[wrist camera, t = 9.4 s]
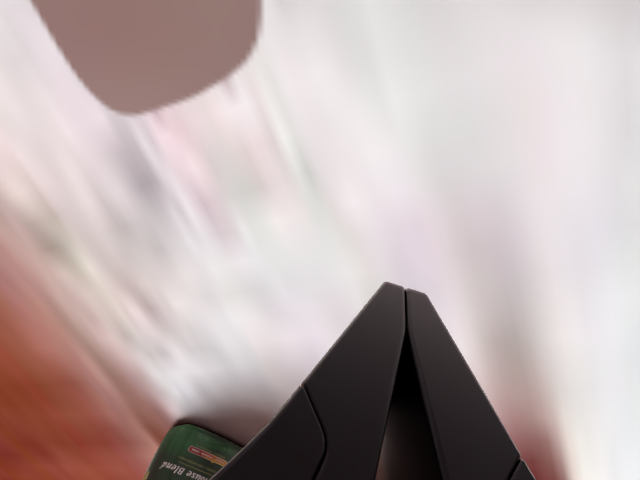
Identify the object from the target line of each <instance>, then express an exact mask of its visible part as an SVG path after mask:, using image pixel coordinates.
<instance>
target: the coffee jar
mask: <svg viewBox="0 0 640 480" xmlns="http://www.w3.org/2000/svg"><path fill="white" fill-rule="evenodd" d="M242 449H243V448H241V447H239V446H238V445H236V444H234V443H232V442H230V441H228V440H226V439H224V438H222V437H220V436H218V435H216V434H214V433H211V432H209V431H207V430H204V429H202V428H199V427H197V426H194V425H190V424H185V425H179V426H175V427H173V428H172V429H170V430H169V431H168V433H167V434H166V436H165V437H164V439H163V441H162V443H161V444H160V446H159V448H158V450H157V452H156V453H155V455H154V457H153V459H152V461H151V463H150V465H149V467H148V469H147V471H146V473H145V475H144V477H143V480H209V479H210V478H212V477H213V476H214V475H215V474H216V473H217V472H218V471H219V470H220V469H221V468H222V467H223V466H224V465H226V464H227V463H228V462H229V461H230V460H231V459H232V458H233V457H234V456H235V455H236V454H237V453H239V452H240V451H241V450H242Z"/></svg>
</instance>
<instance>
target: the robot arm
mask: <svg viewBox="0 0 640 480" xmlns="http://www.w3.org/2000/svg"><path fill="white" fill-rule="evenodd" d="M520 458H521V454H520V453H519V451H518V449H517V447H516V446H515V444H514V442H513V441H512V439H511V437H510V436H509V434H508V432H507V430H506V429H505V427H504V425H503V424H502V422H501V420H500V419H499V417H498V415H497V413H496V412H495V410H494V408H493V407H492V405H491V403H490V402H489V400H488V398H487V396H486V395H485V393H484V391H483V390H482V388H481V386H480V385H479V383H478V381H477V380H476V378H475V376H474V374H473V373H472V371H471V369H470V368H469V366H468V364H467V363H466V361H465V359H464V357H463V356H462V354H461V352H460V351H459V349H458V347H457V346H456V344H455V342H454V340H453V339H452V337H451V335H450V334H449V332H448V330H447V329H446V327H445V325H444V323H443V322H442V320H441V318H440V317H439V315H438V313H437V312H436V310H435V308H434V307H433V305H432V303H431V301H430V300H429V298H428V296H427V295H426V294H425V293H422V292H419V291H416V290H412V289H409V288H407V289H405V290H404V288H403V287H402V286H399V285H396V284H393V283H390V282H384V283H383V284H382V285H381V287H380V288H379V289H378V290H377V291H376V293H375V294H374V295H373V296H372V298H371V299H370V300H369V301H368V303H367V304H366V305H365V306H364V307H363V309H362V310H361V311H360V312H359V314H358V315H357V316H356V317H355V319H354V320H353V321H352V322H351V323H350V325H349V326H348V327H347V328H346V330H345V331H344V332H343V333H342V335H341V336H340V337H339V338H338V340H337V341H336V342H335V343H334V344H333V346H332V347H331V348H330V349H329V351H328V352H327V353H326V354H325V356H324V357H323V358H322V359H321V360H320V362H319V363H318V364H317V365H316V367H315V368H314V369H313V370H312V372H311V373H310V374H309V375H308V376H307V378H306V379H305V380H304V381H303V383H302V385H301V386H299V387H298V388H297V390H296V391H295V392H294V393H293V394H292V396H291V397H290V398H289V399H288V401H287V402H286V403H285V404H284V405H283V406H282V408H281V409H280V410H279V411H278V412H277V413H276V414H275V416H274V417H273V418H272V419H271V420H270V421H269V422H268V423H267V425H266V426H265V427H264V428H263V429H262V430H261V431H260V432H259V433H258V434H257V435H256V436H255V437H254V438H253V439H252V440H251V441H250V442H249V443H248V444H247V445H246V446H245V447H244V448H243V449H242V450H241V451H240V452H239V453H237V454H236V455H235V456H234V457H233V458H232V459H231V460H230V461H229V462H228V463H227V464H226V465H224V466H223V467H222V468H221V469H220V470H219V471H218V472H217V473H216V474H215V475H214V476H213V477H212V478H210V479H209V480H536V479H535V478H534V476H533V474H532V473H531V471H530V469H529V467H528V466H527V464H526V462H525V461H524V460H522V459H521V460H520Z"/></svg>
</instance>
